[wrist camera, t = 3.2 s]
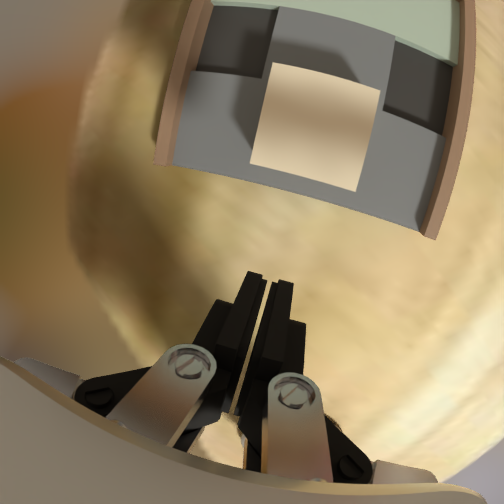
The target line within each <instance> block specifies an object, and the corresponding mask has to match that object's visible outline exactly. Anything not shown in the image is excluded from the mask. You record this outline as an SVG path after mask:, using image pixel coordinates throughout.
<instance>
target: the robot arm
mask: <svg viewBox="0 0 504 504" xmlns="http://www.w3.org/2000/svg"><path fill="white" fill-rule="evenodd" d="M262 276H263V275H261V274H258V273H254V272H250V271H248V272H247V274H246V276H245V279H244V281H243V283H242V286H241V288H240V290H239V292H238V295H237V297H236V299H235V301H234V304H232V303H229V302H225V301H222V300H219V299H217V300H216V301H215V302H214V304H213V306H212V308H211V310H210V312H209V313H208V315H207V317H206V319H205V321H204V323H203V324H202V326H201V328H200V330H199V332H198V334H197V336H196V337H195V339H194V341H193V343H192V344H180V345H176V346H173V347H171V348H170V349H168V350H167V351H166V352H165V353H164V354H163V355H162V356H161V357H160V358H159V360H158V361H157V362H156V363H155V364H154V365H153V366H151V367H146V368H141V369H137V370H132V371H127V372H122V373H117V374H112V375H106V376H101V377H96V378H92V379H89V380H83V379H81V376H80V375H77V374H74V373H71V372H67V371H64V370H62V369H59V368H56V367H53V366H50V365H48V364H45V363H42V362H40V361H37V360H34V359H31V358H21V359H19V360H17V361H15V362H14V363H13V362H12V361H10V360H7V359H5V358H3V357H1V356H0V504H487V502H486V500H485V499H484V498H483V497H482V496H481V495H480V494H479V493H477V492H475V491H473V490H470V489H468V488H464V487H461V486H457V485H452V484H444V483H438V481H437V479H436V477H435V476H434V475H433V474H432V473H431V472H430V471H427V470H423V469H418V468H412V467H407V466H403V465H398V464H393V463H389V462H385V461H381V460H376V461H375V462H372V461H370V460H369V458H368V457H367V456H366V455H365V454H364V453H363V452H362V451H361V450H360V449H359V448H358V447H357V446H356V445H355V444H354V443H353V442H352V441H351V440H350V439H349V438H348V437H347V436H346V435H344V434H343V433H342V431H341V430H340V429H339V428H338V427H337V426H336V425H335V424H333V423H332V422H331V421H330V420H329V419H328V418H327V417H326V416H325V415H324V411H323V404H322V398H321V393H320V391H319V388H318V387H317V385H316V384H315V383H314V382H313V381H312V380H311V379H309V378H308V377H306V376H304V375H303V369H304V354H305V337H306V324H305V323H302V322H299V321H295V320H291V319H289V318H290V310H291V302H292V294H293V286H294V283H291V282H287V281H283V280H280V279H279V281H278V283H275V282H272V284H271V287H270V291H269V294H268V298H267V301H266V305H265V308H264V312H263V315H262V319H261V322H260V326H259V329H258V332H257V336H256V339H255V343H254V346H253V350H252V353H251V357H250V360H249V364H248V367H247V371H246V374H245V378H244V381H243V385H242V388H241V392H240V395H239V398H238V402H237V405H236V408H235V412H234V415H237V416H240V418H239V421H238V425H239V426H238V428H239V429H240V430H241V432H242V436H241V444H242V446H243V448H244V455H243V469H241V468H236V467H232V466H229V465H225V464H221V463H218V462H214V461H211V460H207V459H204V458H201V457H198V456H194V455H192V454H190V452H191V450H192V449H193V447H194V445H195V444H196V442H197V441H198V439H199V437H200V436H201V434H202V433H203V431H204V428H205V426H206V425H209V424H212V423H215V422H217V421H218V420H219V419H220V416H221V413H222V411H223V412H226V413H229V410H230V407H231V403H232V400H233V397H234V394H235V391H236V387H237V384H238V381H239V378H240V374H241V371H242V368H243V364H244V361H245V358H246V355H247V351H248V348H249V345H250V341H251V338H252V334H253V331H254V327H255V324H256V320H257V316H258V313H259V309H260V306H261V302H262V298H263V295H264V291H265V288H266V284H267V280H264V279H262Z"/></svg>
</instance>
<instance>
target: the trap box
mask: <svg viewBox="0 0 504 504" xmlns="http://www.w3.org/2000/svg"><path fill="white" fill-rule="evenodd" d="M475 58H476V12H475V0H192V1H191V4H190V7H189V10H188V13H187V16H186V19H185V22H184V25H183V29H182V32H181V36H180V39H179V43H178V46H177V50H176V53H175V57H174V61H173V65H172V69H171V73H170V77H169V82H168V86H167V91H166V95H165V100H164V105H163V110H162V115H161V120H160V126H159V131H158V137H157V143H156V149H155V156H154V163H153V164H156V165H161V166H170V165H174V166H180V167H185V168H190V169H195V170H200V171H205V172H209V173H214V174H219V175H223V176H228V177H232V178H236V179H241V180H245V181H249V182H253V183H258V184H262V185H266V186H270V187H274V188H278V189H281V190H285V191H289V192H293V193H297V194H300V195H304V196H308V197H311V198H315V199H318V200H322V201H325V202H329V203H332V204H336V205H339V206H342V207H346V208H349V209H352V210H355V211H359V212H362V213H365V214H368V215H371V216H374V217H377V218H380V219H383V220H386V221H389V222H392V223H395V224H398V225H401V226H404V227H407V228H410V229H413V230H415V231H418V232H420V233H421V234H422V235H423V236H425V237H428V238H430V239H433V240H436V238H437V235H438V232H439V230H440V227H441V224H442V221H443V218H444V215H445V212H446V209H447V206H448V203H449V200H450V196H451V193H452V190H453V186H454V183H455V179H456V176H457V172H458V168H459V164H460V160H461V156H462V151H463V147H464V142H465V137H466V132H467V127H468V121H469V115H470V108H471V101H472V93H473V84H474V73H475ZM273 62H274V63H279V64H285V65H290V66H295V67H299V68H304V69H308V70H313V71H317V72H321V73H325V74H329V75H332V76H336V77H340V78H343V79H346V80H350V81H353V82H356V83H359V84H362V85H366V86H369V87H371V88H374V89H377V90H380V95H379V100H378V105H377V110H376V114H375V118H374V123H373V127H372V131H371V136H370V140H369V144H368V148H367V152H366V155H365V159H364V163H363V167H362V171H361V174H360V178H359V181H358V185H357V188H356V192H354V191H350V190H347V189H344V188H341V187H337V186H334V185H331V184H327V183H324V182H320V181H317V180H313V179H309V178H306V177H302V176H298V175H295V174H291V173H287V172H283V171H279V170H275V169H271V168H267V167H262V166H258V165H254V164H250V159H251V155H252V150H253V146H254V141H255V137H256V132H257V128H258V124H259V119H260V115H261V110H262V106H263V102H264V97H265V93H266V89H267V85H268V80H269V76H270V72H271V68H272V64H273Z"/></svg>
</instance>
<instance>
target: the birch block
mask: <svg viewBox="0 0 504 504" xmlns="http://www.w3.org/2000/svg"><path fill="white" fill-rule="evenodd" d="M379 95H380V90H377V89H374V88H371V87H369V86H366V85H362V84H359V83H356V82H353V81H350V80H346V79H343V78H340V77H336V76H332V75H329V74H325V73H321V72H317V71H313V70H308V69H304V68H299V67H295V66H290V65H285V64H279V63H274V62H273V64H272V68H271V72H270V76H269V80H268V85H267V89H266V93H265V97H264V102H263V106H262V110H261V115H260V119H259V124H258V128H257V132H256V137H255V141H254V146H253V150H252V155H251V159H250V164H254V165H258V166H262V167H267V168H271V169H275V170H279V171H283V172H287V173H291V174H295V175H298V176H302V177H306V178H309V179H313V180H317V181H320V182H324V183H327V184H331V185H334V186H337V187H341V188H344V189H347V190H350V191H354V192H356V188H357V185H358V181H359V178H360V174H361V171H362V167H363V163H364V159H365V155H366V152H367V148H368V144H369V140H370V136H371V131H372V127H373V123H374V118H375V114H376V110H377V105H378V100H379Z"/></svg>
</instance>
